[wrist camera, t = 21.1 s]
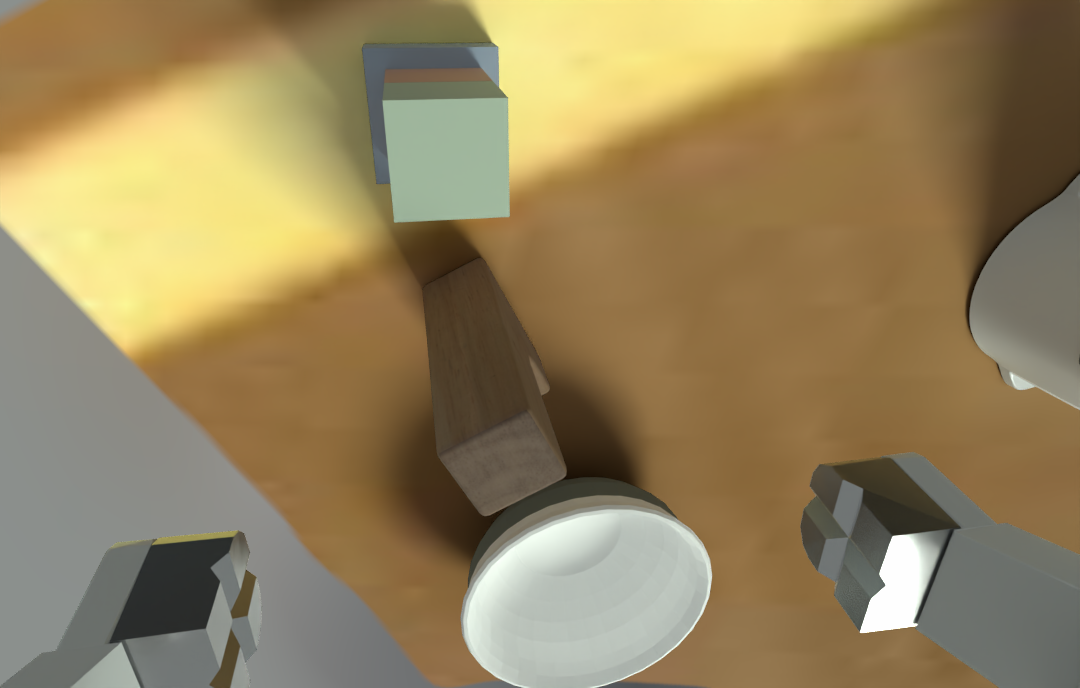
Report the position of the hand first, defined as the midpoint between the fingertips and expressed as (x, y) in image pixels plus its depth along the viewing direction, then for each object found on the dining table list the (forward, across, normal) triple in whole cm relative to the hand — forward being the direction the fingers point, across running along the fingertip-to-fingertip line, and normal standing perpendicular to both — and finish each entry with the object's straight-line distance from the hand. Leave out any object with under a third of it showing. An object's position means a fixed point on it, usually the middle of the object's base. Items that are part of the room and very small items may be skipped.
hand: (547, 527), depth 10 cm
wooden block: (+34, -2, +14) cm, 37 cm away
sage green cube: (+27, 0, 0) cm, 27 cm away
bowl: (+34, -8, +34) cm, 49 cm away
